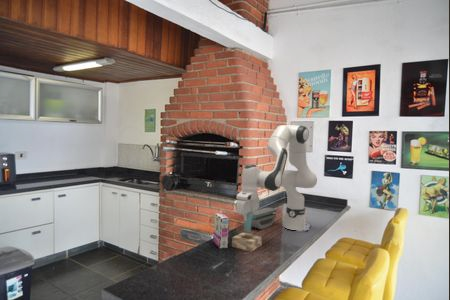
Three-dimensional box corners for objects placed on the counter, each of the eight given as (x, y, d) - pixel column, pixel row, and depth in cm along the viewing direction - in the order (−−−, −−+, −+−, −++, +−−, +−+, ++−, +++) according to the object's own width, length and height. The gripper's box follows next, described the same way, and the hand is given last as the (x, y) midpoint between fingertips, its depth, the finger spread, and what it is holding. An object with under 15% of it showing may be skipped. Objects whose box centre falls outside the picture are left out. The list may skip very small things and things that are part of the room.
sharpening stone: (267, 222, 213) (267, 207, 212) (276, 224, 207) (277, 209, 207) (245, 229, 194) (246, 212, 194) (255, 232, 189) (255, 215, 188)
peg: (246, 229, 165) (247, 204, 165) (251, 230, 163) (253, 205, 163) (243, 230, 162) (244, 205, 162) (248, 232, 160) (250, 206, 160)
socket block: (242, 240, 171) (243, 232, 171) (261, 245, 165) (261, 236, 165) (231, 246, 161) (232, 237, 161) (251, 251, 155) (251, 242, 155)
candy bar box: (228, 248, 159) (229, 217, 158) (219, 249, 157) (220, 218, 156) (221, 241, 169) (222, 212, 168) (212, 242, 167) (214, 213, 167)
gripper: (252, 191, 172) (251, 215, 173) (234, 196, 155) (233, 222, 156) (262, 193, 169) (261, 217, 169) (245, 197, 152) (243, 224, 152)
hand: (247, 219), depth 162 cm, fingers closed on peg, 4 cm apart
